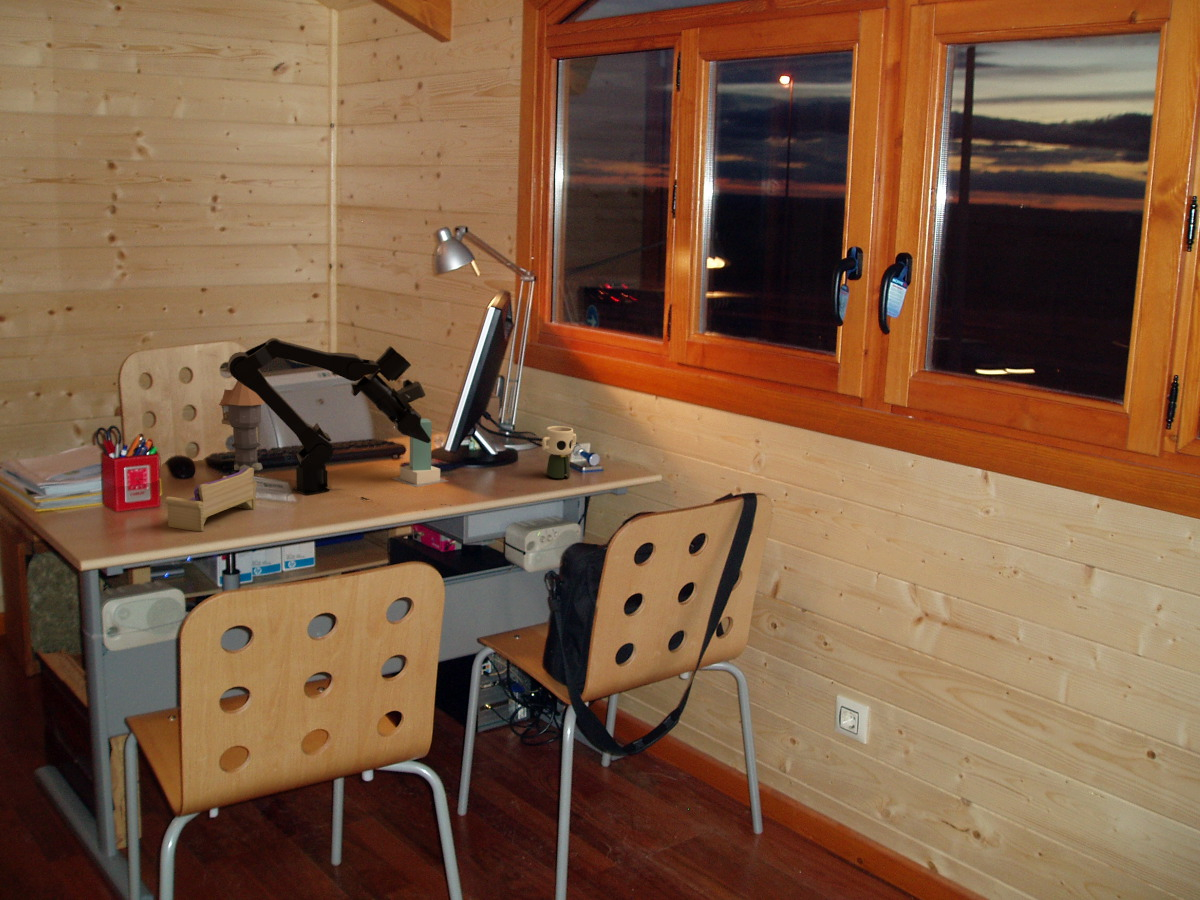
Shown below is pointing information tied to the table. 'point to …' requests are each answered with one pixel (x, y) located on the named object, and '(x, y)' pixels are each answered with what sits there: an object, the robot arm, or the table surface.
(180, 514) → the toy sofa
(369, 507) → the table surface
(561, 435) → the character mug
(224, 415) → the model tower
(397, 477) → the grey baseplate
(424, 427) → the teal column brick
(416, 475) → the cream slab brick
